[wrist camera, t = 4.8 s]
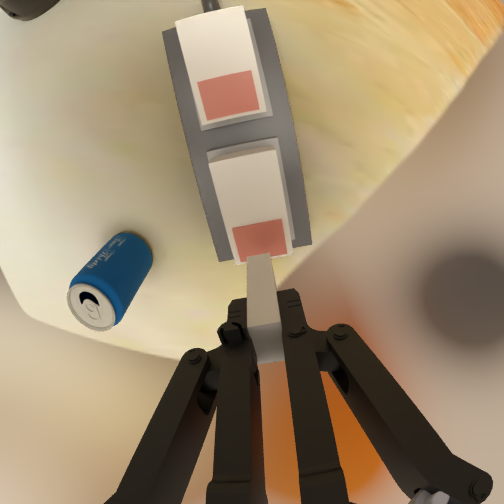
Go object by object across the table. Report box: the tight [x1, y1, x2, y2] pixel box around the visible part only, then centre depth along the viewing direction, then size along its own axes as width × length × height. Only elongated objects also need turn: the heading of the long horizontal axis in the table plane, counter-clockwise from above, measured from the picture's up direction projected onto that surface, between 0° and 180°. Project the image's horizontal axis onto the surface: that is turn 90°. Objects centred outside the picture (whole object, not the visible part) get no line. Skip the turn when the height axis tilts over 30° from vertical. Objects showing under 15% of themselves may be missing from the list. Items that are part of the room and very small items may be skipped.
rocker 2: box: [208, 145, 293, 265], centre depth 22 cm, size 9×5×2 cm, turn 12°
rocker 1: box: [175, 5, 267, 125], centre depth 17 cm, size 9×5×2 cm, turn 11°
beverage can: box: [67, 233, 152, 331], centre depth 28 cm, size 6×6×12 cm
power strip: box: [162, 0, 312, 262], centre depth 23 cm, size 31×10×5 cm, turn 12°
